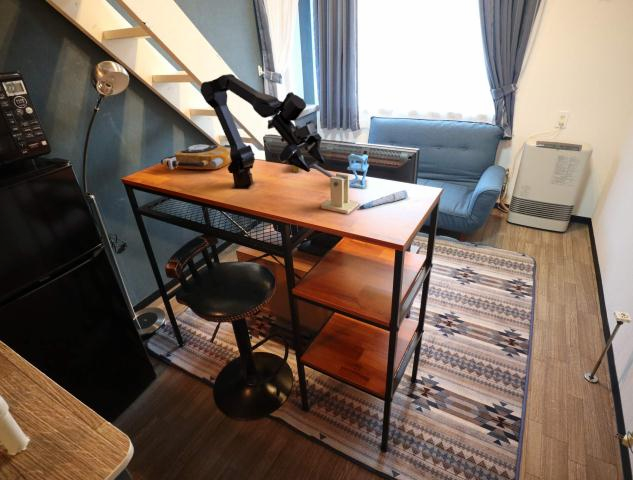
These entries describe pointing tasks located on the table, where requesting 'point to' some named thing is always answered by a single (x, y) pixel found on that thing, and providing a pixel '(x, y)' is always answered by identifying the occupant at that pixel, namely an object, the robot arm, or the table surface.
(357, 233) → the table surface
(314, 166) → the lever
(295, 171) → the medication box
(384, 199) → the pen
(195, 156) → the device
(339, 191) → the bracket
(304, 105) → the robot arm
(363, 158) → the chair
